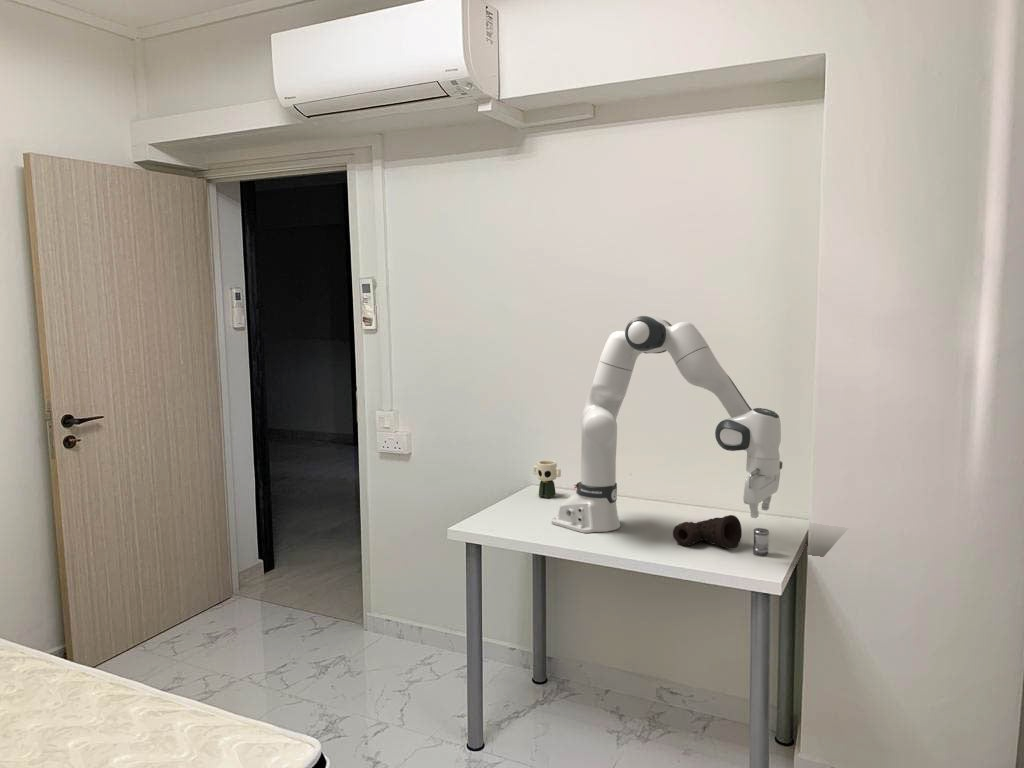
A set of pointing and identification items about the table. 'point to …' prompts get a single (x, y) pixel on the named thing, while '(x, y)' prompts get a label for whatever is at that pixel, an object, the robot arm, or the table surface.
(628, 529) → the table surface
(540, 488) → the character mug
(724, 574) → the table surface
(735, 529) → the pipe
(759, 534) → the container
